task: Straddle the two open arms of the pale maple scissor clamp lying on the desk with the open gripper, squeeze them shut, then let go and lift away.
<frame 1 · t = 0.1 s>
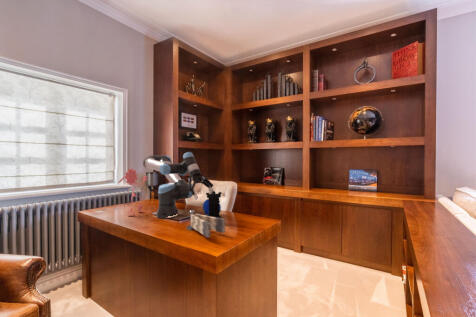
hand: (205, 197, 159), 15 cm above the table, tool tilted 35°, fingers open, 13 cm apart
chess piece: (214, 223, 152), on the table
left arm: (209, 222, 134), point 5 cm above the table, hinge at 10.0°
figurine: (132, 214, 178), on the table
right arm: (199, 225, 130), point 5 cm above the table, hinge at 10.0°
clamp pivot: (192, 228, 141), on the table
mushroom: (211, 216, 169), on the table
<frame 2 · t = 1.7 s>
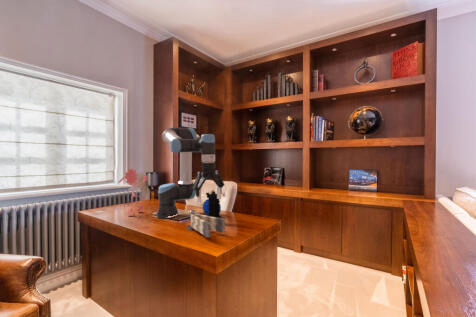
hand: (209, 200, 128), 19 cm above the table, tool pointing down, fingers open, 13 cm apart
nothing on the table moved.
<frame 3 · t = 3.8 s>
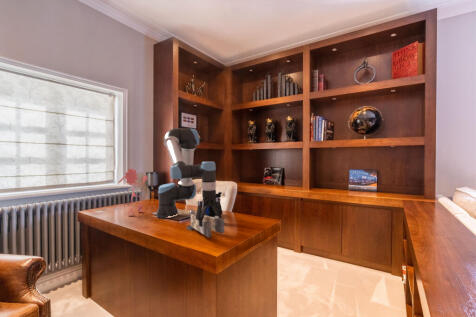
hand: (209, 229, 128), 3 cm above the table, tool pointing down, fingers open, 9 cm apart
left arm: (208, 222, 134), point 6 cm above the table, hinge at 8.5°, touching gripper
right arm: (200, 225, 130), point 5 cm above the table, hinge at 8.6°, touching gripper
everything else where it was.
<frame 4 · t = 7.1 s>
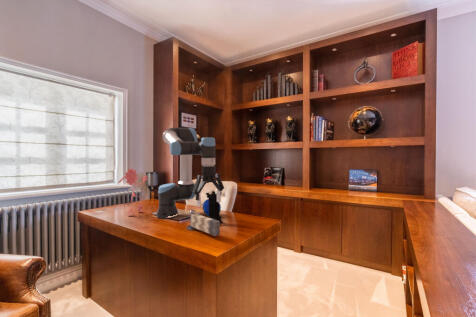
hand: (209, 204, 128), 18 cm above the table, tool pointing down, fingers open, 13 cm apart
left arm: (206, 223, 132), point 5 cm above the table, hinge at -0.3°
right arm: (203, 224, 131), point 6 cm above the table, hinge at -0.3°
everything else where it was.
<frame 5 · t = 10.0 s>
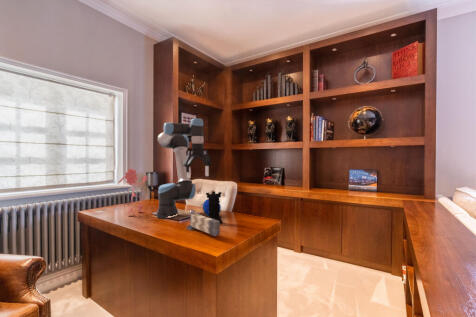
hand: (198, 176, 147), 31 cm above the table, tool pointing down, fingers open, 13 cm apart
nothing on the table moved.
at the end: left arm at +0° (first picture: +10°); right arm at +0° (first picture: +10°) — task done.
